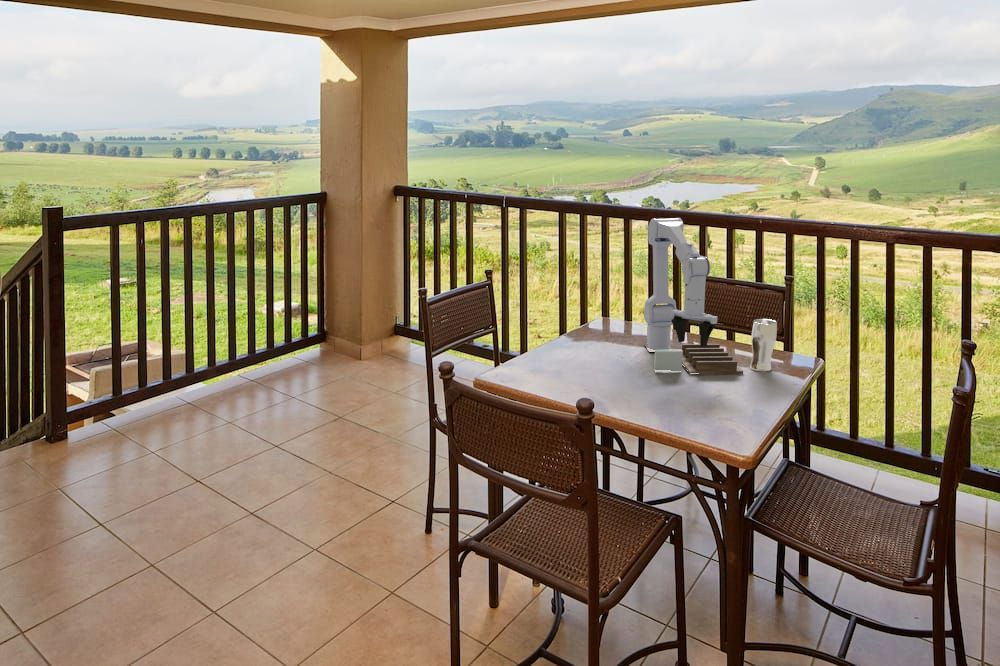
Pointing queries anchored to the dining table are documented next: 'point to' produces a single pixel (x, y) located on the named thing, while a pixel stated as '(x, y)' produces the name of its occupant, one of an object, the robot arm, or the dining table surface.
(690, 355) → the rack
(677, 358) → the tile
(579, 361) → the dining table surface
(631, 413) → the dining table surface
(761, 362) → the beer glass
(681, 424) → the dining table surface
